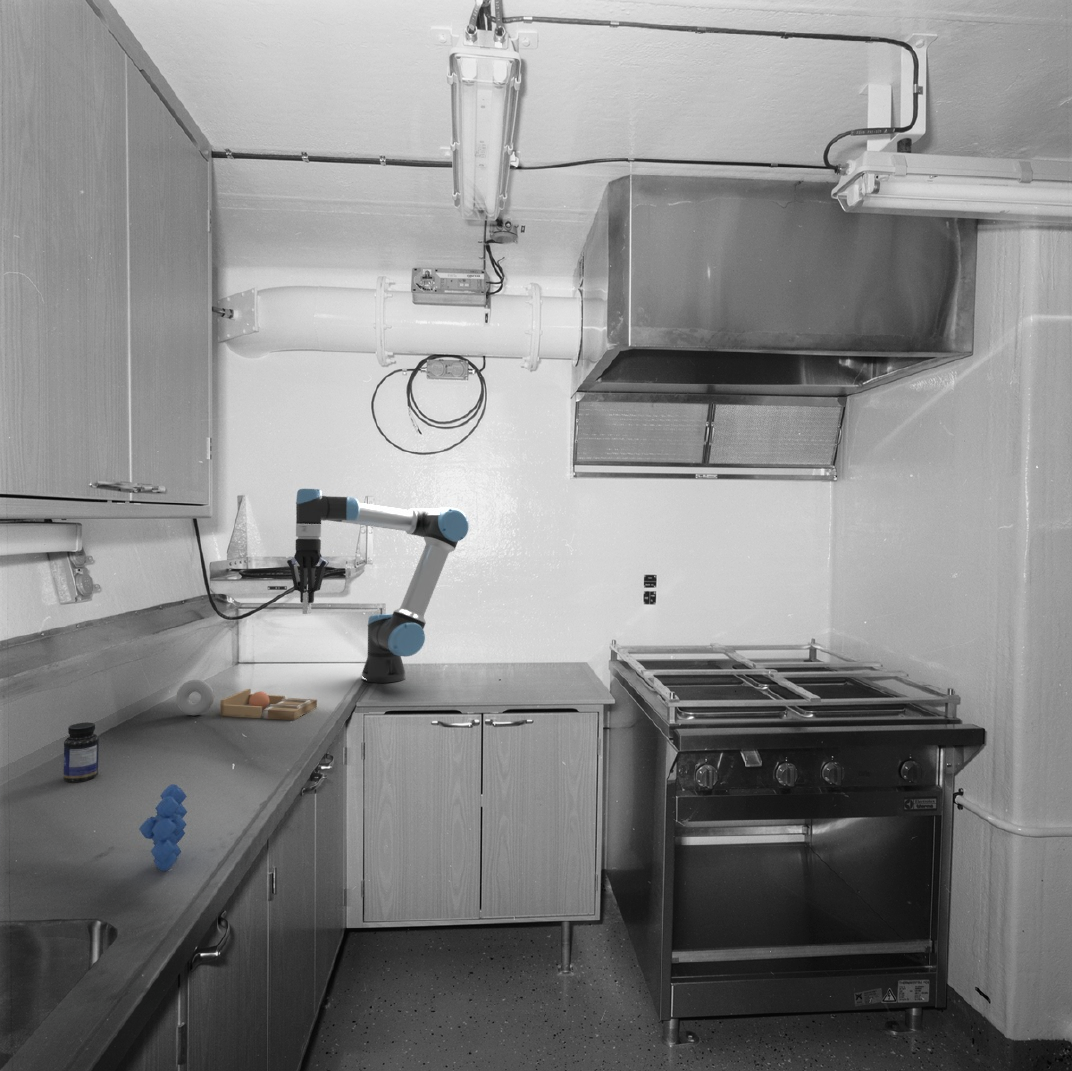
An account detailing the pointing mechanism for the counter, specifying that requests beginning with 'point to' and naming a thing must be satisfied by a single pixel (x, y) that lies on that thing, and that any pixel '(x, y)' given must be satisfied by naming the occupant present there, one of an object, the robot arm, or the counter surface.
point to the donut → (185, 702)
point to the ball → (259, 700)
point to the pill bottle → (81, 753)
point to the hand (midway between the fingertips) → (306, 613)
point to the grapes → (166, 827)
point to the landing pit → (245, 705)
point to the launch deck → (290, 708)
